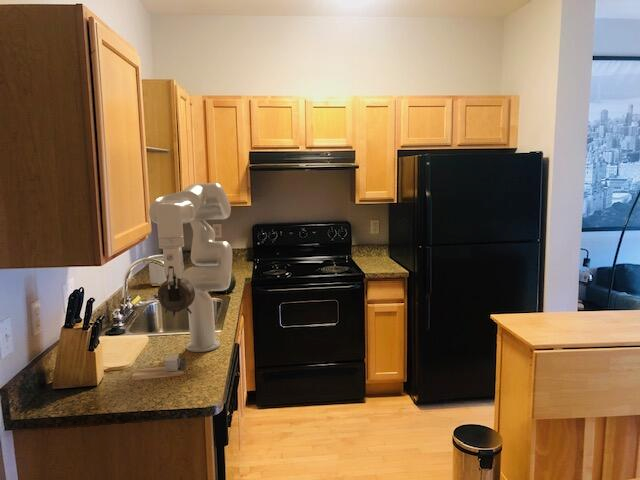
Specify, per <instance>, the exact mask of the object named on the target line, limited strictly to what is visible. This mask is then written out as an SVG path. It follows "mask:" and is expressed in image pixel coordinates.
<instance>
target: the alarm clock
mask: <svg viewBox="0 0 640 480" xmlns="http://www.w3.org/2000/svg"><path fill="white" fill-rule="evenodd" d="M175 278H176V277H173V279H175ZM178 288H179V296H180V300H179V301H172V302H170V301H169V296H168V280H166V281H165V282H164V283H162V284H161V286H160V287H158V291H157V300H158V302H159V304H160V305H161V307H162V308H163V309H164V310H165V311H164V313H165V314H167V313H168V312H171V313H172V316H173V317H175V316H176V313H181V312H183V311H184V312H185V310H187V312H188V311H189V312H190V314H191V313H192V312H191V311H190V309H189V308H188V307H189V306H190V305H191V304H192V303H193V301H194V298H195V291H194V288H193V286H192V284H191V283H190V282H189V281H188V280H187V279H185V278H183V277H182V278H181V279H179V278H178Z"/></svg>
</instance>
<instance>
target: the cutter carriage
mask: <svg viewBox="0 0 640 480" xmlns="http://www.w3.org/2000/svg"><path fill="white" fill-rule="evenodd" d="M180 361H181V358H180V354H179V353H172V354H166V356H165V359H164V367H165V372H167V371H178V369H179V368H180Z"/></svg>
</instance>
